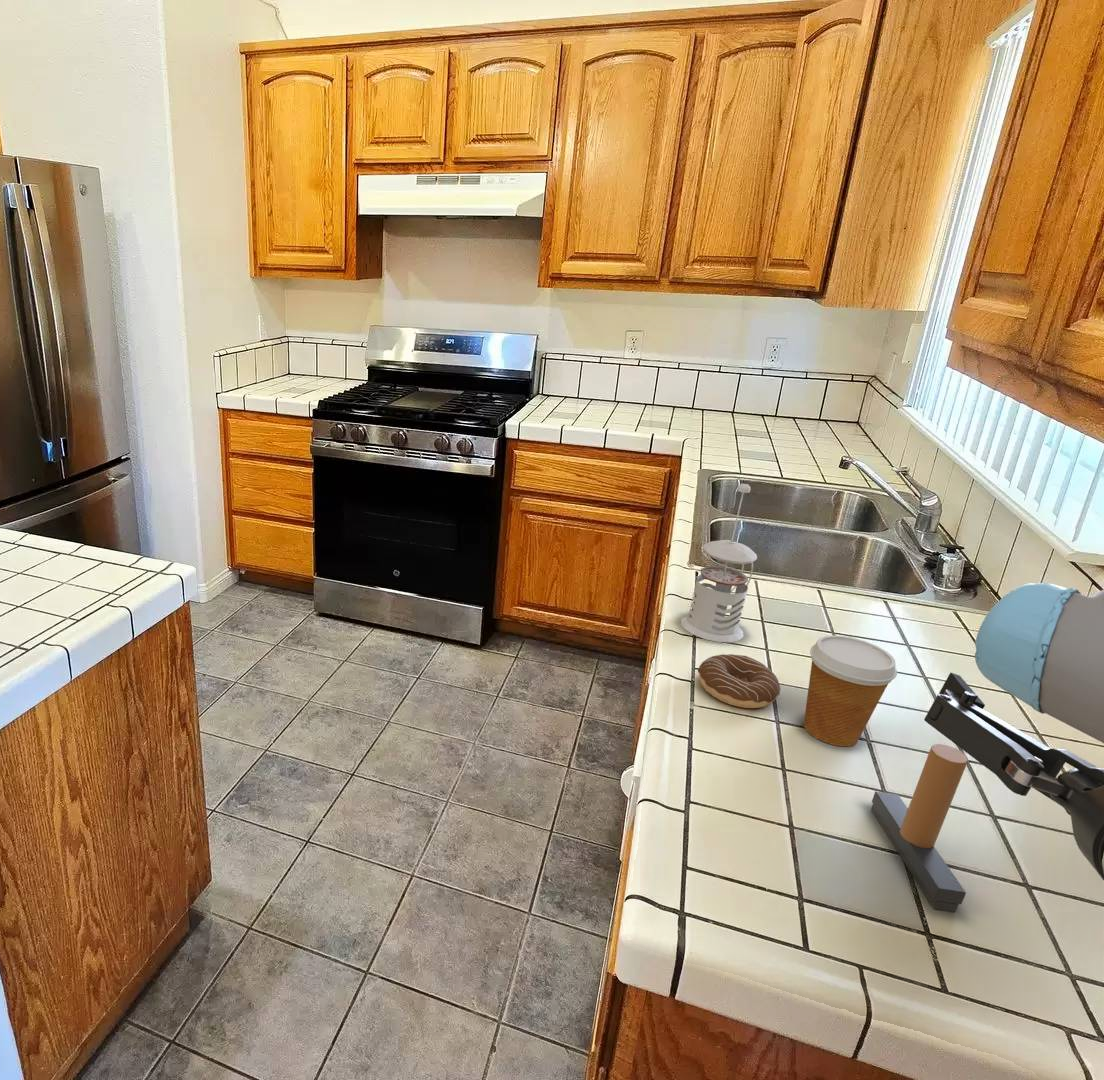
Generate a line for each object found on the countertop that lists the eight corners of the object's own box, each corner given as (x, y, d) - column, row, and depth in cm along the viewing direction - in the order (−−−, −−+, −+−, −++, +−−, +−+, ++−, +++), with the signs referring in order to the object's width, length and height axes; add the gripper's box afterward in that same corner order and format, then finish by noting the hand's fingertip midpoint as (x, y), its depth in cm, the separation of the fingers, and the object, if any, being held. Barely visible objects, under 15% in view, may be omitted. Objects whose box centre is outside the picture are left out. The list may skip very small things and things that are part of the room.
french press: (668, 622, 126) (697, 479, 117) (710, 607, 132) (741, 470, 123) (720, 647, 119) (756, 497, 109) (762, 631, 125) (800, 487, 116)
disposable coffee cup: (773, 717, 101) (795, 638, 97) (826, 706, 104) (850, 629, 100) (834, 761, 93) (861, 677, 88) (889, 747, 96) (918, 665, 92)
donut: (740, 668, 113) (746, 645, 111) (794, 708, 103) (801, 683, 102) (679, 676, 110) (685, 652, 109) (728, 717, 101) (735, 692, 99)
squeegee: (894, 812, 85) (930, 714, 80) (961, 913, 72) (1009, 804, 67) (865, 808, 85) (900, 710, 80) (927, 907, 72) (972, 798, 67)
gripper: (922, 820, 51) (860, 697, 70) (1399, 1013, 44) (1184, 816, 63) (976, 727, 49) (897, 626, 68) (1489, 914, 41) (1238, 741, 60)
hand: (1035, 717), depth 65 cm, fingers open, 13 cm apart
